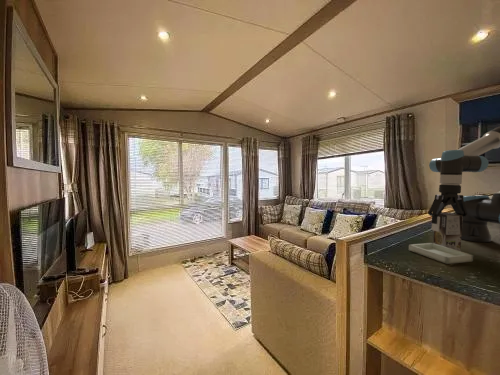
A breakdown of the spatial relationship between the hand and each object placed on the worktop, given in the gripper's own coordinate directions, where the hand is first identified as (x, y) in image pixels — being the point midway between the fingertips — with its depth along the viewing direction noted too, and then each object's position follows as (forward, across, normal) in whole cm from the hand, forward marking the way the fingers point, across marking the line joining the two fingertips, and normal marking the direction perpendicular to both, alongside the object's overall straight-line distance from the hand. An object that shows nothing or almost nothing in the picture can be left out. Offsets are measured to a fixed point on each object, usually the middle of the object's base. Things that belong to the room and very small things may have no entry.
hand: (446, 230), depth 104 cm
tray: (+8, +14, +7) cm, 17 cm away
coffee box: (+8, 0, 0) cm, 9 cm away
